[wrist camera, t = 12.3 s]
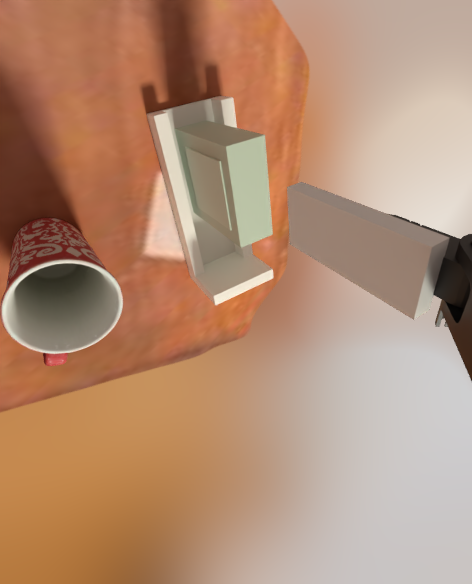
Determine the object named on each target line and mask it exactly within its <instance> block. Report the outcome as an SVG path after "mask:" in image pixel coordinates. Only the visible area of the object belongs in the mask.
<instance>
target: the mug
mask: <svg viewBox="0 0 472 584" xmlns="http://www.w3.org/2000/svg"><path fill="white" fill-rule="evenodd" d="M122 307H123V295H122V291H121V288H120V286H119V284H118V282H117V280H116V279H115V278H114V276H113V275H112V274H111V273H110V272H108V271H107V270H106V268H105V267H104V265H103V264H102V262H101V261H100V260H99V258H98V257H97V255H96V254H95V252H94V251H93V249H92V248H91V247H90V245H89V244H88V242H87V241H86V239H85V238H84V237H83V235H82V234H81V233H80V231H79V230H78V229H77V228H76V227H74V226H73V225H71V224H70V223H68V222H66V221H63V220H60V219H56V218H41V219H36V220H33V221H31V222H29V223H27V224H26V225H24V226H23V227H22V228H21V229H20V230H19V231H18V233H17V234H16V236H15V238H14V241H13V245H12V255H11V261H10V269H9V275H8V281H7V287H6V291H5V293H4V295H3V298H2V301H1V306H0V315H1V320H2V323H3V326H4V328H5V330H6V331H7V333H8V334H9V335H10V336H11V337H12V338H13V340H15V341H16V342H18V343H19V344H21V345H22V346H24V347H26V348H29V349H31V350H34V351H38V352H43V356H44V363H45V365H47V366H54V365H60V364H64V363H65V362H66V361H67V355H68V353H69V352H73V351H78V350H81V349H84V348H86V347H89V346H91V345H93V344H95V343H97V342H98V341H100V340H101V339H102V338H104V337H105V336H106V335H107V334H108V333H109V332H110V331H111V330H112V329H113V328H114V326H115V325H116V323H117V322H118V320H119V318H120V315H121V312H122Z"/></svg>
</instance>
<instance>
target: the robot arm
mask: <svg viewBox="0 0 472 584" xmlns="http://www.w3.org/2000/svg"><path fill="white" fill-rule="evenodd" d="M287 193H288V214H289V235H290V245H292V246H294V247H295V248H297V249H299V250H300V251H302V252H304V253H305V254H307V255H309V256H310V257H312V258H314V259H315V260H317V261H318V262H320V263H322V264H323V265H325V266H327V267H328V268H330V269H332V270H333V271H335V272H336V273H338V274H340V275H341V276H343V277H345V278H346V279H348V280H350V281H351V282H353V283H355V284H356V285H358V286H359V287H361V288H363V289H364V290H366V291H368V292H369V293H371V294H373V295H374V296H376V297H377V298H379V299H381V300H382V301H384V302H386V303H387V304H389V305H390V306H392V307H394V308H396V309H397V310H399V311H400V312H402V313H404V314H405V315H407V316H409V317H410V318H412V319H413V320H414V319H416V318H417V317H419V316H421V315H422V314H424V313H425V312H427V311H429V310H430V307H431V303H432V299H433V296H434V295H435V296H437V297H439V298H440V299H442V301H441V305H440V308H439V311H438V314H437V318H436V321H435V325H436V327H439V326H440V323H441V320H442V319H443V318H445V320H446V322H445V327H449V330H450V332H451V334H452V337H453V339H454V341H455V343H456V346H457V348H458V351H459V353H460V355H461V358H462V360H463V362H464V364H465V367H466V369H467V371H468V374H469V375H470V378H471V381H472V234H468V235H466V236H464V237H462V238H461V239H459V238H456V237H453V236H450V235H448V234H445V233H442V232H439V231H437V230H434V229H431V228H429V227H426V226H423V225H422V226H420V224H418V223H415V222H413V221H411V222H410V221H409V220H407V219H405V218H402V217H399V216H396V215H390V214H386V213H383V212H380V211H378V210H375V209H372V208H369V207H367V206H364V205H362V204H359V203H356V202H354V201H351V200H349V199H346V198H343V197H341V196H338V195H335V194H333V193H330V192H327V191H325V190H322V189H319V188H317V187H314V186H311V185H309V184H306V183H303V182H300V183H297V184H295V185H292V186H289V187H287Z"/></svg>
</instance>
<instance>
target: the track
mask: <svg viewBox="0 0 472 584" xmlns="http://www.w3.org/2000/svg"><path fill="white" fill-rule="evenodd" d="M147 118H148V122H149V125H150V129H151V133H152V137H153V140H154V144H155V148H156V151H157V155H158V159H159V163H160V166H161V170H162V174H163V177H164V181H165V185H166V188H167V192H168V196H169V200H170V203H171V207H172V211H173V214H174V218H175V222H176V226H177V229H178V233H179V237H180V240H181V244H182V248H183V252H184V255H185V259H186V263H187V266H188V270H189V274H190V278H191V279H192V280H193V281H194V282H195V283H196V284H197V285H198V286H199V288H200V289H201V290H202V291H203V292H204V293H205V294H206V295H207V296H208V298H209V299H210V300H211V301H212V302H213V303H214V304H215V305H217V304H220V303H222V302H224V301H226V300H228V299H230V298H232V297H234V296H237V295H239V294H241V293H243V292H245V291H247V290H249V289H251V288H253V287H256V286H258V285H260V284H262V283H264V282H266V281H268V280H270V279H273V269H272V268H271V267H269V266H268V265H267V264H265V263H264V262H263V261H261V260H260V259H259V258H257V257H256V256H254V255H253V252H252V244H249V245H247V246H244V247H242V248H240V247H239V246H238V245H236V244H235V243H234V242H232V241H231V240H230V239H228V238H227V237H226V236H224V235H223V234H222V233H220V232H219V231H218V230H216V229H215V228H214V227H212V226H211V225H210V224H208V223H207V222H206V221H204V220H203V219H202V218H200V217H199V216H198V215H196V214H195V213H194V212H193V208H192V204H191V199H190V195H189V190H188V186H187V182H186V177H185V173H184V169H183V164H182V160H181V156H180V151H179V147H178V142H177V138H176V134H175V129H176V128H180V127H183V126H187V125H191V124H195V123H198V122H202V121H206V120H207V121H211V122H215V123H219V124H223V125H227V126H231V127H235V128H237V125H236V117H235V109H234V101H233V97H226V96H217V97H213V98H209V99H205V100H201V101H197V102H193V103H189V104H185V105H180V106H176V107H172V108H168V109H164V110H160V111H156V112H152V113H148V114H147Z"/></svg>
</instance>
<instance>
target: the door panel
mask: <svg viewBox="0 0 472 584" xmlns="http://www.w3.org/2000/svg"><path fill="white" fill-rule="evenodd" d="M175 134H176V138H177V142H178V147H179V151H180V156H181V160H182V164H183V169H184V173H185V177H186V182H187V186H188V190H189V195H190V199H191V204H192V208H193V212H194V213H195V214H196V215H198V216H199V217H200V218H202V219H203V220H204V221H206V222H207V223H208V224H210V225H211V226H212V227H214V228H215V229H216V230H218V231H219V232H220V233H222V234H223V235H224V236H226V237H227V238H228V239H230V240H231V241H232V242H234V243H235V244H236V245H238V246H239V247H240V248H242V247H244V246H247V245H249V244H251V243H254V242H256V241H258V240H261V239H263V238H266V237H268V236H270V235H273V232H272V219H271V206H270V194H269V181H268V169H267V156H266V144H265V135H263V134H259V133H255V132H251V131H247V130H243V129H239V128H235V127H231V126H227V125H223V124H219V123H215V122H211V121H207V120H206V121H202V122H198V123H195V124H191V125H187V126H183V127H180V128H176V129H175Z"/></svg>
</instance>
